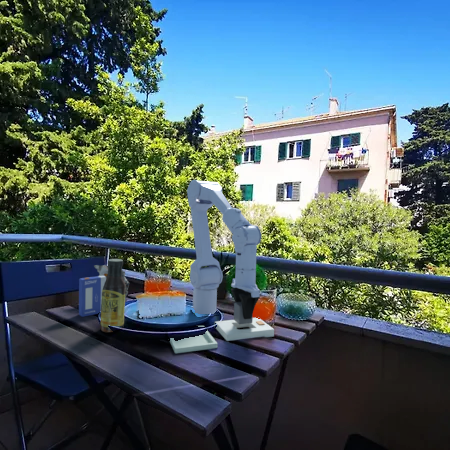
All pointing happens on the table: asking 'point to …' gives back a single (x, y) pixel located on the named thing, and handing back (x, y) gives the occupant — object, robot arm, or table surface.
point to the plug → (240, 314)
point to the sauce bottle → (113, 297)
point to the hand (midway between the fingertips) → (244, 315)
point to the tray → (194, 343)
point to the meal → (104, 272)
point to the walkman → (90, 295)
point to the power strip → (256, 329)
